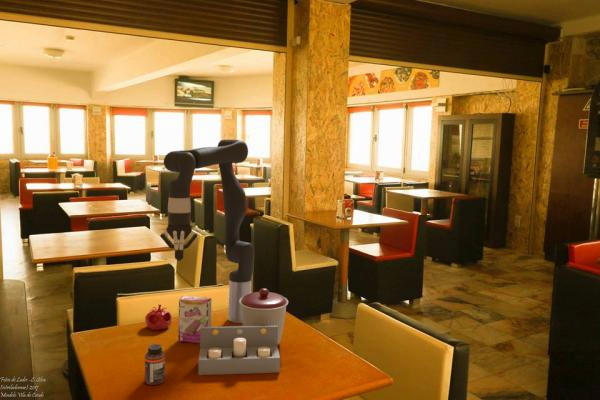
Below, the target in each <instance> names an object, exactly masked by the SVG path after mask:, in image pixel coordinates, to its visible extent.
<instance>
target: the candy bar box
mask: <svg viewBox="0 0 600 400" xmlns="http://www.w3.org/2000/svg"><path fill="white" fill-rule="evenodd" d="M212 300H213V299H212V297H207V296H206V297H204V296H202V297H201V296H193V295H182V296H181V297H180V298H179V299H178V339H177V340H178V342H180V343H190V344H192V343H193V344H200V331H201V327H212Z"/></svg>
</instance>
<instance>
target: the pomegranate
mask: <svg viewBox="0 0 600 400" xmlns="http://www.w3.org/2000/svg"><path fill="white" fill-rule="evenodd" d="M161 308H162V304H158V308H157V307H156V306H153V307H152V308H151V309H150V310H149V312H148V313H147V314H146V315H145V317H144V318H145V319H144V320H145V325H146V326H147V328H149V329H150V330H152V331H161V330H166V329H167V328H169V327H170V325H171V324H172V313H171V312H170V311H168V310H165V309H168V307H163V308H162V309H161Z"/></svg>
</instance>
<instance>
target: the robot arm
mask: <svg viewBox="0 0 600 400" xmlns="http://www.w3.org/2000/svg"><path fill="white" fill-rule="evenodd" d="M248 155H249V147H248V145H247V143H246V142H245V141H244V140H242V139H241V140H240V139H220V141H219V142H218V144H217V146H208V147H207V146H206V147H205V146H204V147H198V148H192V149H186V150H183V149H181V150H173V151H169V152H168V153H166V155H164V158H163V165H164V168H165V169H166V170H167V171H169V172H172V173H178V176H177V179H172V180H170V181H169V183H168V203H167V227H166V230H165V231H164V232H161V234H160V237H161V239H162V240H163V242H164V243H165V244H166V245H167V246H168V248H169V249H173V250H174V259H175V260H176V261H180V262H182V260H183V258H184V257H185V256H184V254H185V251H184V250H185V249H188V248H189V247H191V245H192V244H193V243H194V241H195V240H196V239H197V238H198V236H199V234H198V233H197V232H195V231H193V228H192V224H191V223H192V222H191V220H192V216H191V215H192V212H191V210H192V207H191V206H192V205H191V202H192V201H191V185H192V180H193V176H194V173H195V170H199V169H203V168H207V167H211V166H215V165H216V166H217V165H218V167H219V173H220V181H221V190H222V201H223V212H224V214H223V215H224V224H225V226H224V227H225V239H224V241H225V243H224V245H225V246H224V248H225V249H224V250H225V257H226V259H227V260H228V261H229V262H230V263H234V264H238V265H237V266H238V267H237V269H236V270H232V271H231V272H230V273H229V277H228V279H229V280H228V318H227V319H228V321H229V322H231V323H235V324H242V313H241V305H240V303H239V300H240V299H241V298H242V297H244V296H245V295H247V294H250V293H252V280H253V279H252V276H253V274H254V267H255V266H254V265H255V256H256V255H255V247H254V245H253V244H252V243H251V242H247V241H242V240H240V228H241V225H242V223H243V221H244V218H245V216H246V214H247V196H246V192H245V189H244V188H243V186H242V184H241V183H240V182H239V180H238V178H237V176H236V174H235V172H234V167H233V164H241V163H243V162H245V161H246V159H247V158H248ZM169 236H170V238H171V239H172V240H173V242H172V240H171V239H170V238H169ZM188 236H190V239H189V240H188V241H187V242H186V243H185V240H186V239H187V238H188Z"/></svg>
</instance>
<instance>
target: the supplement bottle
mask: <svg viewBox="0 0 600 400" xmlns="http://www.w3.org/2000/svg"><path fill="white" fill-rule="evenodd" d="M165 379H166V353H165V352H164V351H163V348H162V344H159V343H152V344H150V345H149V346H148V347H147V352H146V353H145V354H144V382H145V383H146V384H147V385H150V386H157V385H160V384H162V383H163V382H164V381H165Z"/></svg>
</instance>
